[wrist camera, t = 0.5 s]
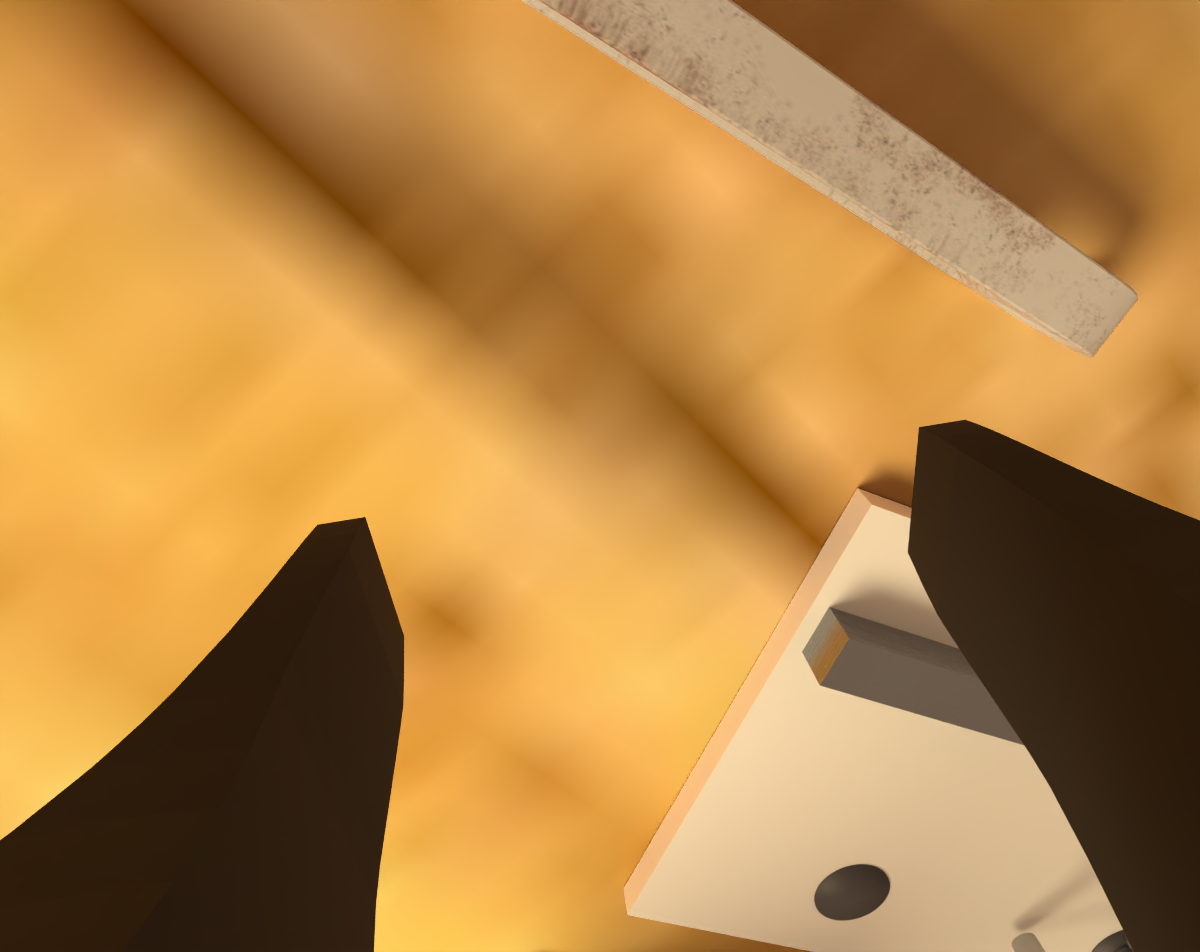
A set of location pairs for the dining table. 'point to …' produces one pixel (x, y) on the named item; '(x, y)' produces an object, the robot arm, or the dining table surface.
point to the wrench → (854, 156)
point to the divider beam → (904, 675)
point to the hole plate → (866, 800)
